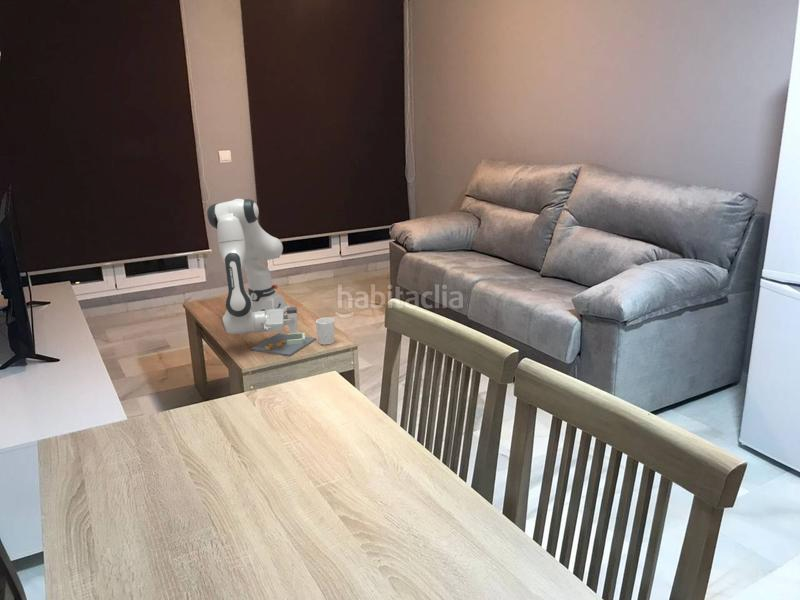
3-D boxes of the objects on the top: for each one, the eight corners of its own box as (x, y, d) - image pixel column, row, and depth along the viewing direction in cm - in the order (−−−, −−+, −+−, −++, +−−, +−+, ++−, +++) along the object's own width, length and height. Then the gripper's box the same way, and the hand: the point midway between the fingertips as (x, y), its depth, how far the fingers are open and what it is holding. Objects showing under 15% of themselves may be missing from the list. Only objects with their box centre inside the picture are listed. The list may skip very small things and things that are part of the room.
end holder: (287, 345, 280) (287, 340, 279) (287, 338, 288) (286, 333, 288) (305, 343, 281) (305, 339, 280) (304, 336, 289) (304, 332, 289)
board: (278, 334, 295) (278, 330, 295) (316, 339, 287) (315, 335, 286) (251, 350, 278) (250, 345, 278) (290, 356, 270) (289, 351, 269)
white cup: (325, 337, 289) (324, 316, 286) (339, 340, 284) (337, 319, 281) (313, 343, 283) (311, 321, 280) (327, 346, 278) (325, 324, 275)
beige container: (288, 329, 284) (286, 307, 282) (298, 328, 285) (296, 307, 282) (288, 332, 281) (286, 310, 278) (298, 331, 281) (296, 309, 278)
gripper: (260, 322, 269) (294, 319, 271) (262, 307, 288) (293, 304, 290) (261, 336, 270) (295, 333, 272) (263, 321, 290) (295, 318, 292)
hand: (294, 318), depth 281 cm, fingers closed on beige container, 4 cm apart
